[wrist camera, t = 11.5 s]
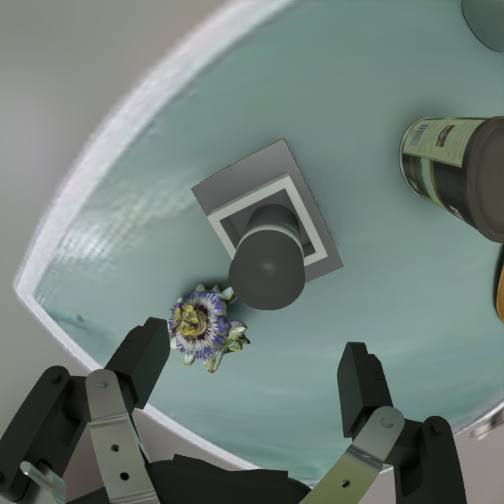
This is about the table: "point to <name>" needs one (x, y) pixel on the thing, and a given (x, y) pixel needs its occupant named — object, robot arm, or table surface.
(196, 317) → the passion flower
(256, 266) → the lens
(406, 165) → the coffee can
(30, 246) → the table surface
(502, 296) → the fedora
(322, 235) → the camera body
